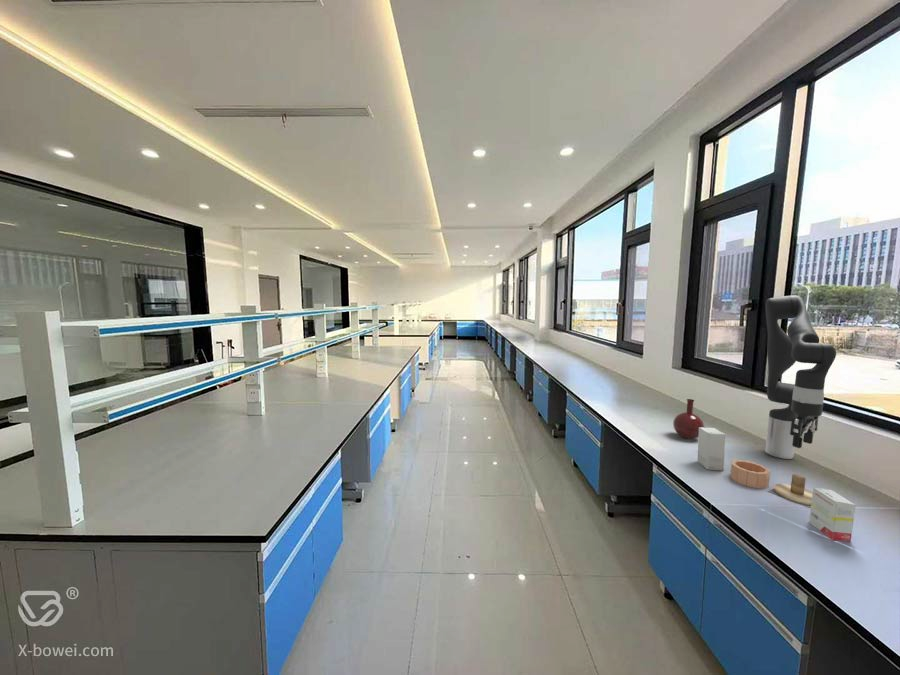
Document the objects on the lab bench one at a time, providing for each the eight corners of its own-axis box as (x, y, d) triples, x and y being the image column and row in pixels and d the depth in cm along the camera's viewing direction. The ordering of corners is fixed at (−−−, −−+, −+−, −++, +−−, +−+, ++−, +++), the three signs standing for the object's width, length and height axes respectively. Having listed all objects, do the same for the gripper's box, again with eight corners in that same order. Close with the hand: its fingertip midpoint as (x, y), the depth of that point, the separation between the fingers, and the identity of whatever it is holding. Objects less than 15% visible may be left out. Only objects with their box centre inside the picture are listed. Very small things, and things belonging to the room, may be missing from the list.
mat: (782, 484, 132) (782, 484, 131) (827, 501, 121) (827, 500, 121) (767, 492, 126) (767, 491, 126) (812, 510, 115) (812, 509, 115)
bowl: (739, 472, 141) (740, 458, 141) (773, 484, 132) (775, 469, 131) (724, 478, 136) (726, 463, 136) (759, 491, 127) (761, 476, 126)
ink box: (852, 543, 100) (857, 504, 98) (831, 540, 101) (836, 502, 99) (826, 524, 108) (831, 488, 107) (807, 522, 109) (812, 486, 108)
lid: (782, 484, 131) (784, 465, 131) (827, 500, 121) (829, 480, 120) (767, 491, 126) (769, 472, 125) (812, 509, 115) (815, 488, 115)
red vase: (702, 436, 179) (705, 398, 177) (704, 445, 168) (707, 405, 166) (672, 431, 186) (674, 395, 184) (672, 439, 175) (675, 400, 173)
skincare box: (723, 471, 142) (727, 434, 140) (705, 469, 143) (708, 433, 142) (712, 462, 150) (715, 427, 148) (695, 460, 151) (698, 426, 150)
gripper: (801, 395, 126) (796, 437, 128) (783, 399, 120) (778, 444, 122) (831, 400, 120) (825, 445, 121) (813, 405, 113) (808, 453, 115)
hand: (802, 445), depth 122 cm, fingers open, 8 cm apart
